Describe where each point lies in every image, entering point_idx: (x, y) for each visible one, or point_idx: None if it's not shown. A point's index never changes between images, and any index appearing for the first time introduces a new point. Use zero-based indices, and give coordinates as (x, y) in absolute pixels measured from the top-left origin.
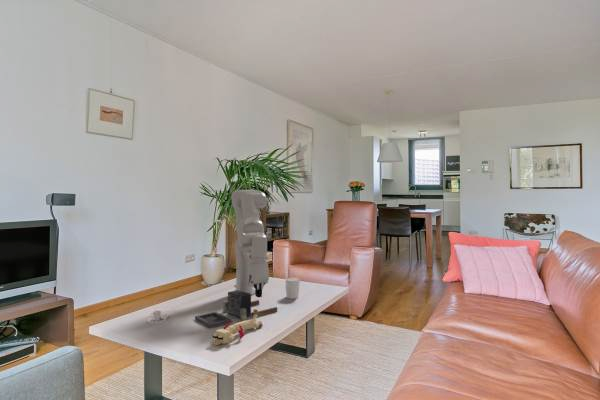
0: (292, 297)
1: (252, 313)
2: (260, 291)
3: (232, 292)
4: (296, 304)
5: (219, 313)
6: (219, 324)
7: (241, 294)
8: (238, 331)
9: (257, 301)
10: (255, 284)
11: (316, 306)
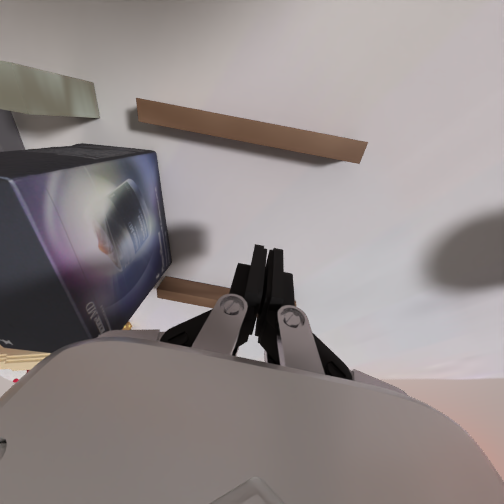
0: None
1: (157, 291)
2: (257, 320)
3: None
4: (440, 318)
5: (1, 150)
6: None
7: (12, 331)
8: (28, 370)
9: (342, 159)
10: (216, 347)
11: (436, 375)
